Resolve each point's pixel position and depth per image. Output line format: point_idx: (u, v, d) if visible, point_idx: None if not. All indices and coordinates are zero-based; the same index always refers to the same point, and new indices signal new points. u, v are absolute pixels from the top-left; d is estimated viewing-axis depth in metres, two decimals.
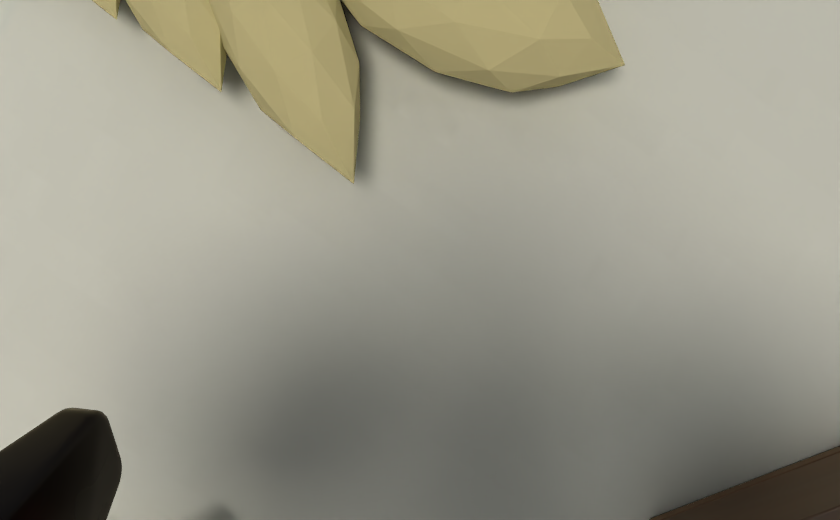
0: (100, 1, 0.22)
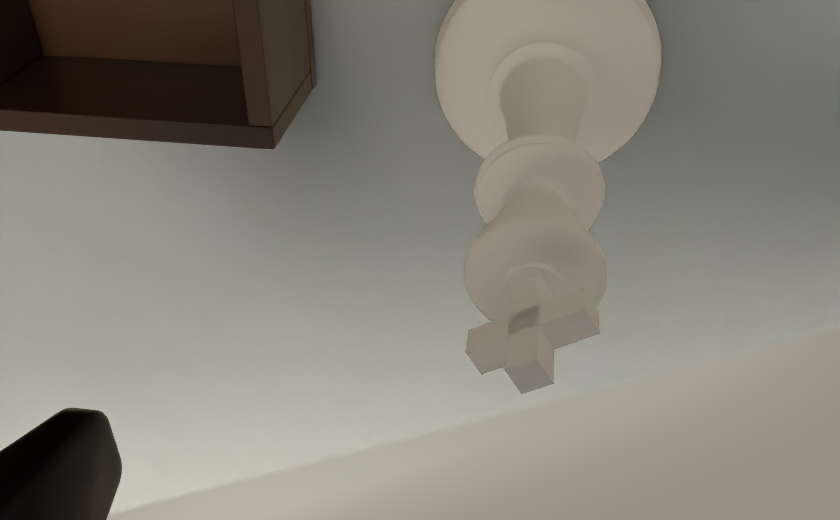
0: None
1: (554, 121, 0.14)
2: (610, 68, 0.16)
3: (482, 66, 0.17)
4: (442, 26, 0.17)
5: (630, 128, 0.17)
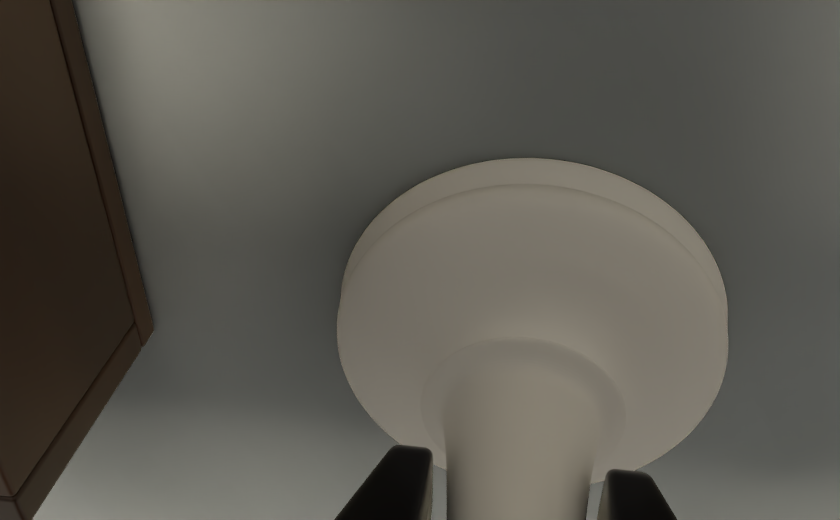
0: None
1: None
2: (640, 365, 0.09)
3: (414, 352, 0.10)
4: (349, 264, 0.10)
5: (673, 440, 0.10)
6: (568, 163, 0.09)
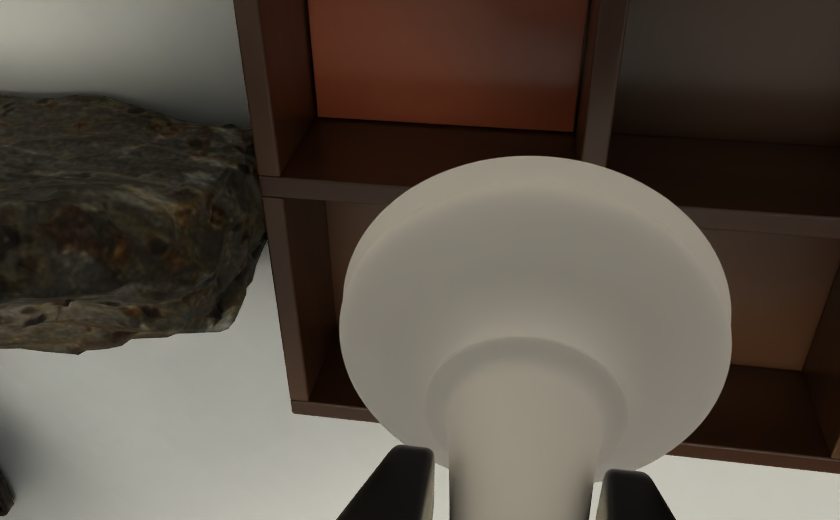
0: None
1: None
2: (644, 364, 0.09)
3: (416, 350, 0.10)
4: (351, 262, 0.10)
5: (676, 439, 0.10)
6: (572, 160, 0.09)
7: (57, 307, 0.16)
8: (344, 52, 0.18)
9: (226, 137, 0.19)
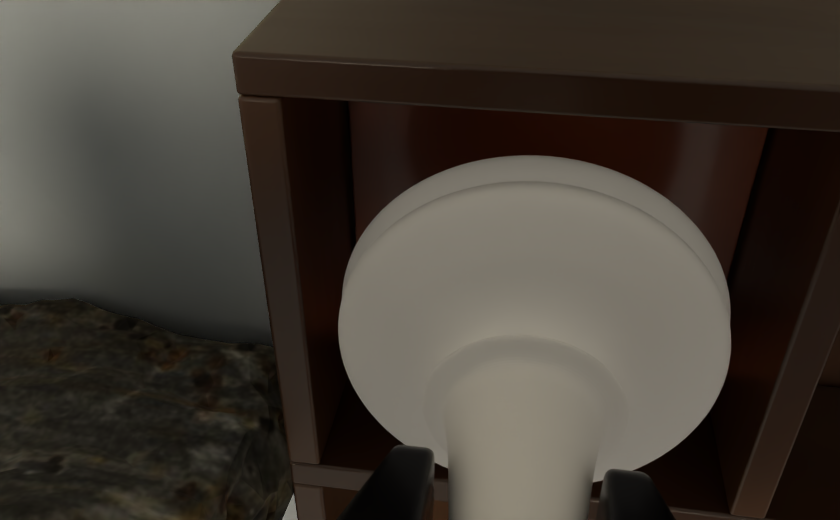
0: None
1: None
2: (643, 363, 0.09)
3: (415, 349, 0.09)
4: (350, 262, 0.10)
5: (675, 439, 0.10)
6: (571, 160, 0.09)
7: None
8: None
9: (242, 369, 0.14)
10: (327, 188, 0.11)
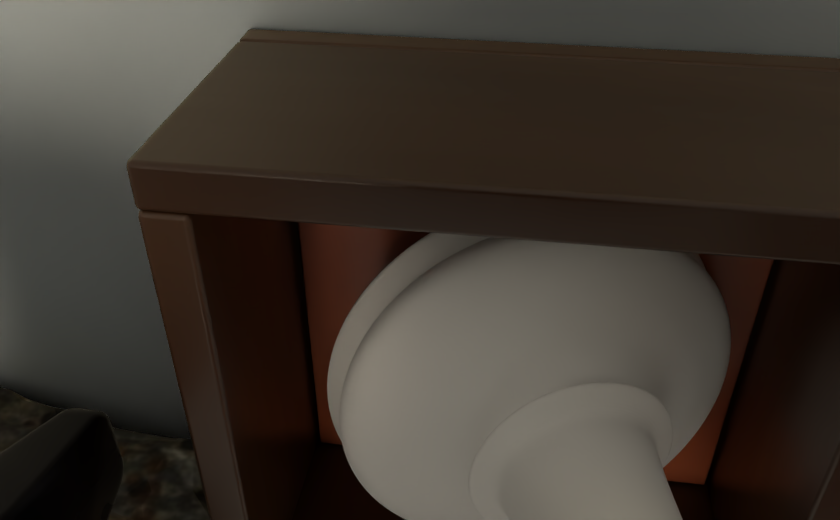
0: None
1: None
2: (669, 380, 0.09)
3: (443, 426, 0.09)
4: (338, 347, 0.09)
5: (686, 442, 0.10)
6: None
7: None
8: None
9: (184, 473, 0.13)
10: (266, 292, 0.09)
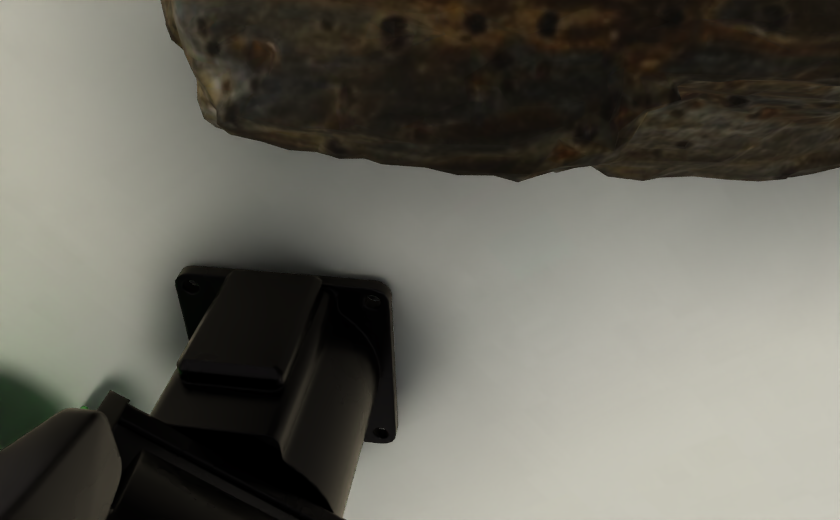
0: None
1: None
2: None
3: None
4: None
5: None
6: None
7: None
8: None
9: None
10: None
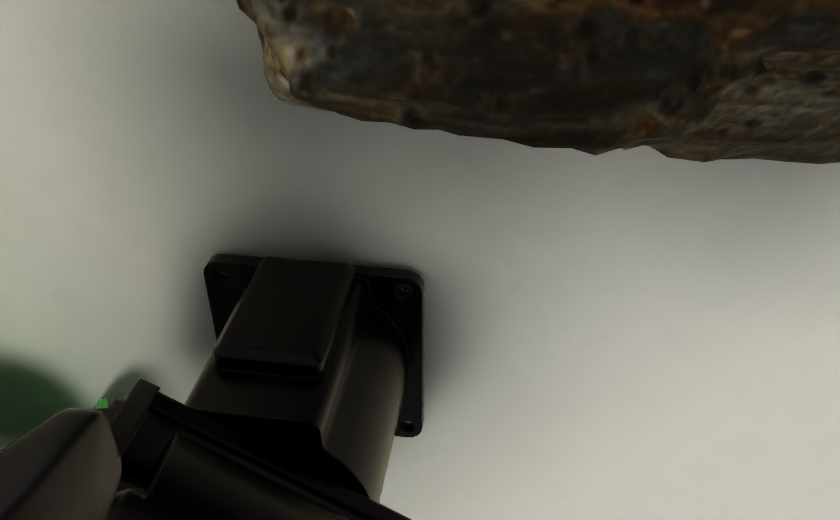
0: None
1: None
2: None
3: None
4: None
5: None
6: None
7: None
8: None
9: None
10: None
